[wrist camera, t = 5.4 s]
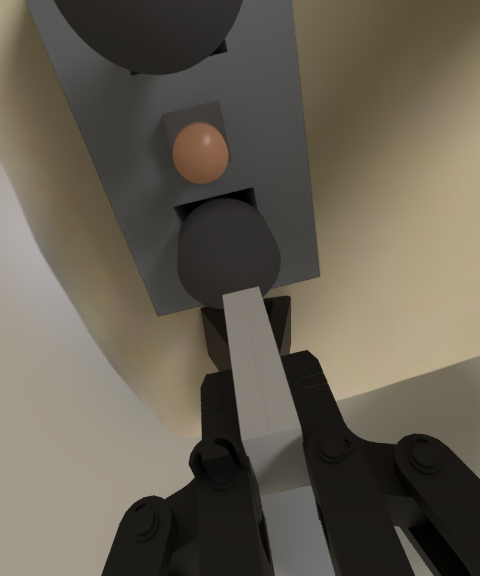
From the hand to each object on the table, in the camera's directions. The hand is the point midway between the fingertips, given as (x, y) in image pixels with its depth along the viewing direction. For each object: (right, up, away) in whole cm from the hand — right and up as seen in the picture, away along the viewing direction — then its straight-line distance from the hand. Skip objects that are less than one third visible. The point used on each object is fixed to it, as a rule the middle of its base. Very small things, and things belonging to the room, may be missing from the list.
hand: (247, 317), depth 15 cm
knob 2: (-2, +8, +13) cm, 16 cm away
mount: (-4, +14, +12) cm, 18 cm away
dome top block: (-3, +10, +5) cm, 11 cm away
